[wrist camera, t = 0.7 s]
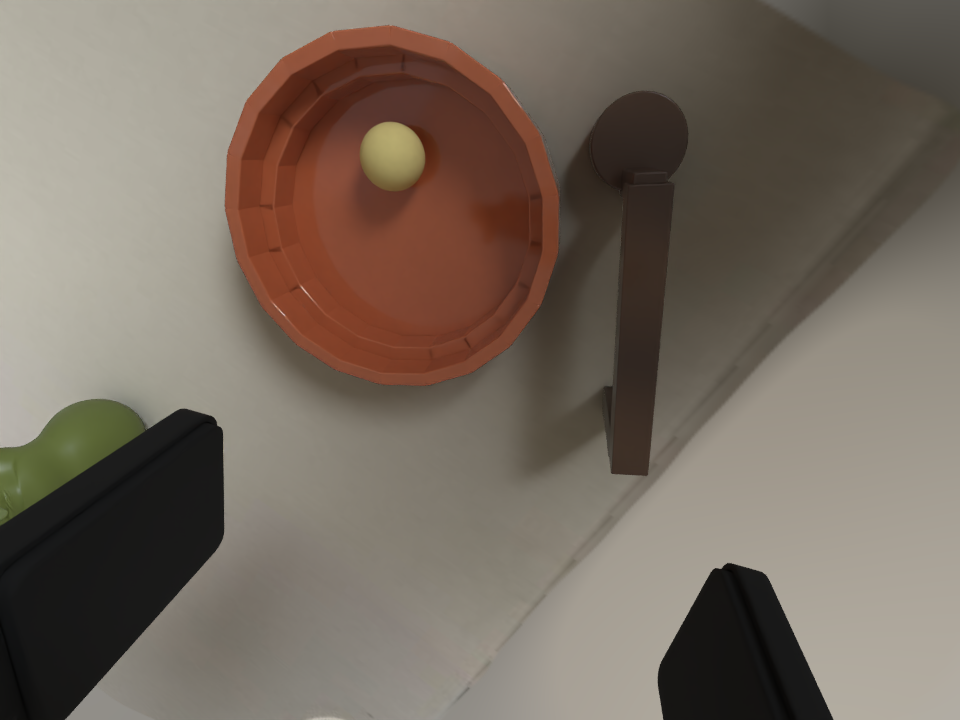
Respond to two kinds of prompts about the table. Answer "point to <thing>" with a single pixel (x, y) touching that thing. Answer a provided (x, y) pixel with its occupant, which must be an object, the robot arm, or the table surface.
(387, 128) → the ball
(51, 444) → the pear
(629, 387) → the ladle
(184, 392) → the table surface
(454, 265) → the bowl
